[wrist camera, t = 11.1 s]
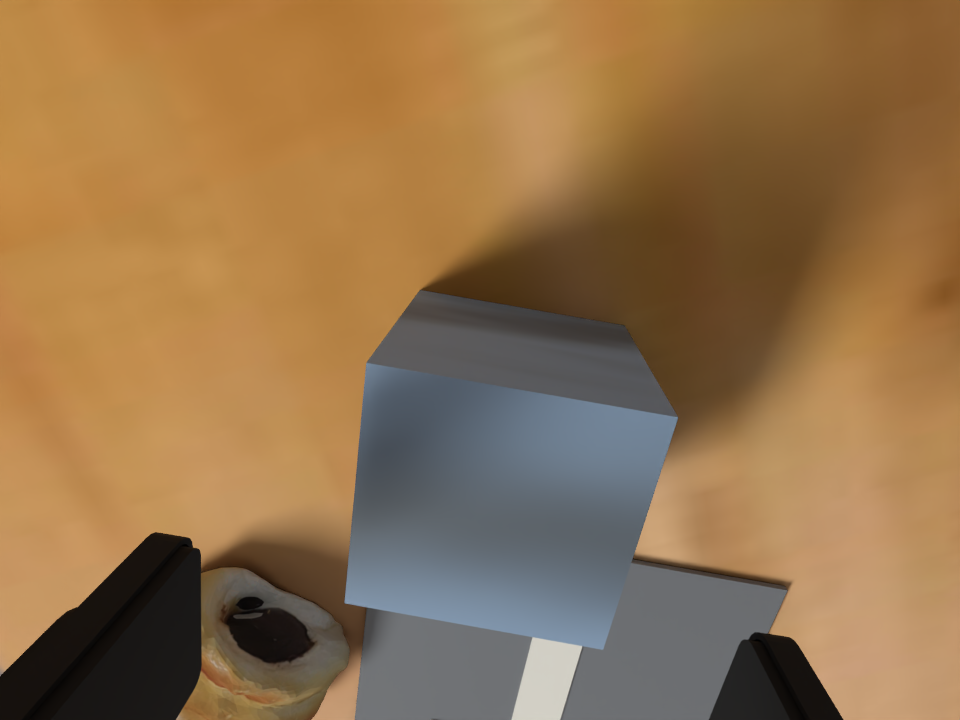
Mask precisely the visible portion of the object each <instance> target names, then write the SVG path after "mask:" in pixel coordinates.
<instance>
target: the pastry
mask: <svg viewBox="0 0 960 720" xmlns="http://www.w3.org/2000/svg"><path fill="white" fill-rule="evenodd" d="M201 642H202V667H201V673H200V676H199V680H198V682H197V685H196V687H195V689H194V691H193V692H192V694H191V696H190V697H189V699H188V701H187V702H186V704H185V706H184V707H183V709H182V711H181V712H180V714H179V715H178V717H177V719H176V720H311V719H312V718H313V717H314V716H315V714H316V713H317V711H318V709H319V707H320V705H321V703H322V701H323V700H324V697H325V695H326V692H327V689H328V688H329V686H330V685H331V683H332V682H333V680H334V679H335V677H336V676H337V675H338V673H339V672H341V671H342V670H344V669H345V668H346V667H347V665H348V660H349V654H350V649H349V646H348V643H347V640H346V638H345V637H344V635H343V627H342V626H341V624H339V623H337V622H336V621H335V620H334V619H333V617H332V615H331V614H330V613H328V612H327V611H325V610H324V609H322V608H321V607H319V606H318V605H316V604H315V603H313V602H311V601H308V600H306V599H303V598H301V597H299V596H297V595H295V594H292V593H289V592H286V591H283V590H280V589H278V588H276V587H274V586H273V585H271V584H270V583H269V582H267V581H266V580H264V579H262V578H261V577H259V576H258V575H256V574H255V573H253V572H251V571H249V570H247V569H245V568H238V567H226V568H218V569H214V570H210V571H206V572H203V573H201Z"/></svg>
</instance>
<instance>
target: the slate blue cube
mask: <svg viewBox="0 0 960 720" xmlns="http://www.w3.org/2000/svg"><path fill="white" fill-rule="evenodd" d="M677 420H678V416H677V414H676V413H675V411H674V409H673V408H672V406H671V404H670V402H669V401H668V399H667V397H666V396H665V394H664V392H663V390H662V389H661V387H660V385H659V384H658V382H657V380H656V378H655V377H654V375H653V373H652V372H651V370H650V368H649V367H648V365H647V363H646V361H645V360H644V358H643V356H642V355H641V353H640V351H639V349H638V348H637V346H636V344H635V343H634V341H633V339H632V337H631V336H630V334H629V332H628V331H627V329H626V327H625V325H619V324H613V323H607V322H602V321H596V320H590V319H584V318H579V317H573V316H567V315H561V314H556V313H550V312H544V311H538V310H533V309H527V308H521V307H515V306H509V305H504V304H498V303H492V302H486V301H481V300H475V299H469V298H463V297H458V296H452V295H446V294H440V293H435V292H429V291H423V290H420V291H419V292H418V293H417V295H416V296H415V297H414V299H413V300H412V302H411V303H410V304H409V306H408V307H407V308H406V310H405V311H404V312H403V314H402V315H401V316H400V318H399V319H398V321H397V322H396V323H395V325H394V326H393V327H392V329H391V330H390V331H389V333H388V334H387V336H386V337H385V338H384V340H383V341H382V342H381V344H380V345H379V346H378V348H377V349H376V350H375V352H374V353H373V355H372V356H371V357H370V359H369V360H368V361H367V363H366V373H365V384H364V395H363V406H362V417H361V428H360V439H359V450H358V461H357V472H356V483H355V494H354V505H353V516H352V526H351V537H350V548H349V559H348V570H347V581H346V592H345V604H351V605H357V606H362V607H368V608H373V609H379V610H384V611H390V612H395V613H401V614H407V615H412V616H418V617H423V618H429V619H434V620H440V621H445V622H451V623H457V624H462V625H468V626H473V627H479V628H484V629H490V630H495V631H501V632H507V633H512V634H518V635H523V636H529V637H534V638H540V639H545V640H551V641H556V642H562V643H568V644H573V645H579V646H584V647H590V648H595V649H601V650H603V649H604V646H605V643H606V639H607V636H608V633H609V630H610V627H611V624H612V621H613V618H614V615H615V612H616V609H617V605H618V602H619V599H620V596H621V593H622V590H623V587H624V584H625V581H626V578H627V575H628V571H629V568H630V565H631V562H632V559H633V556H634V553H635V550H636V547H637V544H638V540H639V537H640V534H641V531H642V528H643V525H644V522H645V519H646V516H647V513H648V510H649V506H650V503H651V500H652V497H653V494H654V491H655V488H656V485H657V482H658V479H659V476H660V472H661V469H662V466H663V463H664V460H665V457H666V454H667V451H668V448H669V445H670V442H671V438H672V435H673V432H674V429H675V426H676V423H677Z"/></svg>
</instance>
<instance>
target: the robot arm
mask: <svg viewBox="0 0 960 720" xmlns="http://www.w3.org/2000/svg"><path fill="white" fill-rule="evenodd" d="M201 667H202V642H201V554H200V550H199V549H197V548H193V546H192V541H191V539H190V538H187V537H181V536H175V535H169V534H163V533H157V532H156V533H152V534H151V535H149V536H148V537H147V538H146V539H145V540H144V541H143V542H142V543H141V544H140V545H139V546H138V547H137V548H136V549H135V550H134V551H133V552H132V553H131V554H130V555H129V556H128V557H127V558H126V559H125V560H124V561H123V562H122V563H121V564H120V565H119V566H118V567H117V568H116V569H115V570H114V571H113V572H112V573H111V574H110V575H109V576H108V577H107V578H106V579H105V580H104V581H103V582H102V583H101V584H100V585H99V586H98V587H97V588H96V589H95V590H94V591H93V592H92V593H91V594H90V595H89V596H88V597H87V598H86V599H85V600H84V601H83V602H82V604H81V605H80V606H79V607H78V608H77V607H76V608H74V609H72V610H69V611H67V612H66V613H65V614H64V615H62V616H61V617H60V618H59V619H57V620H56V621H55V622H54V623H53V624H52V625H51V626H50V627H49V628H48V629H47V630H46V631H45V632H44V633H43V634H42V635H41V636H40V637H39V638H38V639H37V640H36V641H35V642H34V643H33V644H32V645H31V646H30V647H29V648H28V649H27V650H26V651H25V652H24V653H23V654H22V655H21V656H20V657H19V658H18V659H17V660H16V661H15V662H14V663H13V664H12V665H11V666H10V667H9V668H8V669H7V670H6V671H5V672H4V673H3V674H2V675H1V676H0V720H176V719H177V717H178V715H179V714H180V712H181V711H182V709H183V707H184V706H185V704H186V702H187V701H188V699H189V697H190V696H191V694H192V692H193V691H194V689H195V687H196V685H197V682H198V680H199V676H200V673H201ZM709 720H843V718H842V717H841V715H840V713H839V712H838V710H837V708H836V707H835V705H834V703H833V702H832V700H831V698H830V697H829V695H828V694H827V692H826V690H825V689H824V687H823V685H822V684H821V682H820V680H819V679H818V677H817V675H816V674H815V672H814V671H813V669H812V667H811V666H810V664H809V662H808V661H807V659H806V657H805V656H804V654H803V652H802V651H801V649H800V648H799V646H798V645H797V643H796V642H795V641H794V640H793V639H791V638H790V637H784V636H778V635H772V634H766V633H760V632H754V633H753V634H752V635H751V636H750V638H749V639H748V640H746V639H744V640H742V641H741V642H740V644H739V646H738V648H737V651H736V653H735V656H734V658H733V661H732V663H731V666H730V668H729V671H728V673H727V676H726V678H725V681H724V683H723V685H722V688H721V690H720V693H719V695H718V698H717V700H716V703H715V705H714V708H713V710H712V713H711V715H710V718H709Z"/></svg>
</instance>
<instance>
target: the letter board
mask: <svg viewBox="0 0 960 720" xmlns="http://www.w3.org/2000/svg"><path fill="white" fill-rule="evenodd" d="M787 591H788V590H787V589H786V587H785V586H781V585H776V584H770V583H764V582H759V581H753V580H747V579H742V578H736V577H730V576H724V575H719V574H713V573H707V572H702V571H696V570H690V569H685V568H679V567H673V566H668V565H662V564H656V563H650V562H645V561H639V560H633V559H632V562H631V565H630V568H629V571H628V575H627V578H626V581H625V584H624V587H623V590H622V593H621V596H620V599H619V602H618V605H617V609H616V612H615V615H614V618H613V621H612V624H611V627H610V630H609V633H608V636H607V639H606V643H605V646H604V649H603V650H601V649H595V648H590V647H584V646H579V645H573V644H568V643H562V642H556V641H551V640H545V639H540V638H534V637H529V636H523V635H518V634H512V633H507V632H501V631H495V630H490V629H484V628H479V627H473V626H468V625H462V624H457V623H451V622H445V621H440V620H434V619H429V618H423V617H418V616H412V615H407V614H401V613H395V612H390V611H384V610H379V609H373V608H368V607H367V611H366V620H365V629H364V639H363V648H362V657H361V667H360V676H359V685H358V695H357V704H356V713H355V720H709V718H710V715H711V713H712V710H713V708H714V705H715V703H716V700H717V698H718V695H719V693H720V690H721V688H722V685H723V683H724V681H725V678H726V676H727V673H728V671H729V668H730V666H731V663H732V661H733V658H734V656H735V653H736V651H737V648H738V646H739V644H740V642H741V641H742V640H744V639H746V640H748V639H749V638H750V636H751V635H752V634H753V633H754V632H760V633H766V634H768V632H769V630H770V628H771V625H772V623H773V621H774V619H775V617H776V615H777V612H778V610H779V608H780V606H781V604H782V601H783V599H784V597H785V595H786V593H787Z"/></svg>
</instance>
